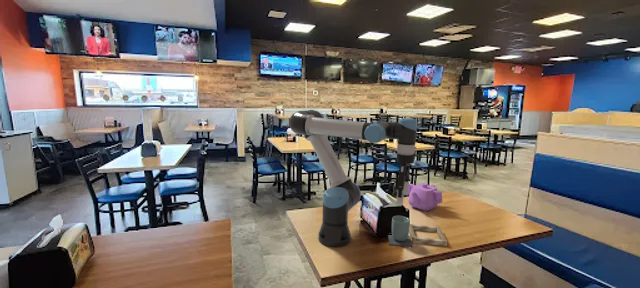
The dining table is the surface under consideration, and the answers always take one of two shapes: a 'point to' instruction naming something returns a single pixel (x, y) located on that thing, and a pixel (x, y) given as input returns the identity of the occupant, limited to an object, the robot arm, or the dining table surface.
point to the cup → (400, 228)
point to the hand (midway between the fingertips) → (402, 199)
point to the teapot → (424, 196)
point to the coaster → (400, 242)
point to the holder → (440, 242)
